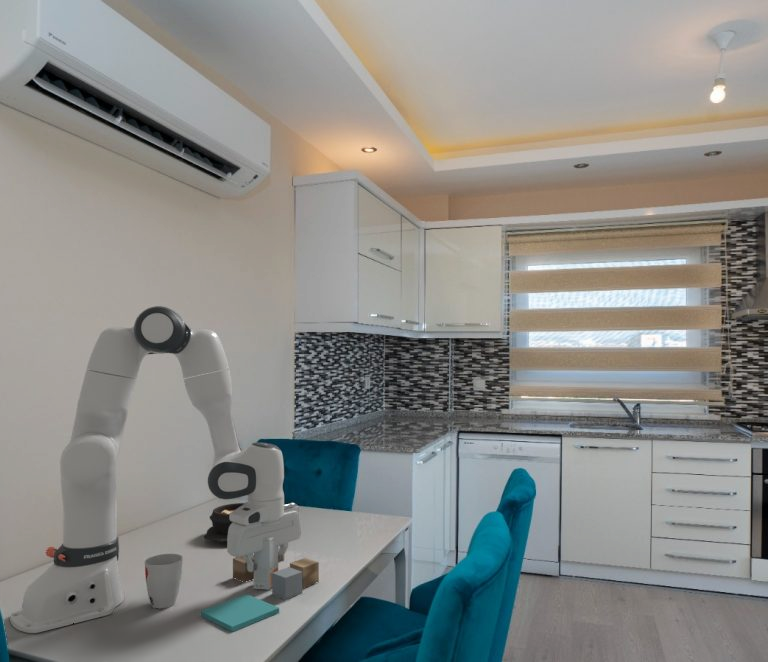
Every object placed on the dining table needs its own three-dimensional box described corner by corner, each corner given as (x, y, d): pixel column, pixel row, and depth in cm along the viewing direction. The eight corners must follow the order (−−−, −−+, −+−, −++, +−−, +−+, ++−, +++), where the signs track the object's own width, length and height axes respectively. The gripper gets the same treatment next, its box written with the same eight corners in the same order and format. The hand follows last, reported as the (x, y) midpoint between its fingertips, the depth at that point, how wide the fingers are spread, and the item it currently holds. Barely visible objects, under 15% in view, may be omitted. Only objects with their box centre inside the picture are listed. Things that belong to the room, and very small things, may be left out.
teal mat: (232, 631, 122) (232, 626, 122) (200, 615, 130) (200, 610, 130) (279, 612, 131) (279, 607, 131) (246, 598, 139) (246, 594, 139)
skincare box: (269, 590, 143) (269, 539, 144) (253, 589, 144) (253, 538, 144) (279, 581, 149) (279, 532, 150) (263, 580, 150) (263, 531, 150)
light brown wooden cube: (303, 588, 144) (303, 567, 144) (290, 583, 148) (289, 563, 148) (318, 582, 148) (318, 562, 148) (305, 577, 151) (305, 557, 152)
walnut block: (244, 583, 148) (244, 562, 149) (232, 578, 152) (232, 558, 152) (261, 577, 152) (260, 557, 152) (249, 573, 155) (249, 553, 156)
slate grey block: (285, 599, 138) (285, 577, 138) (272, 594, 141) (272, 572, 141) (302, 593, 141) (302, 571, 142) (288, 588, 145) (288, 567, 145)
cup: (153, 596, 140) (153, 553, 141) (187, 596, 140) (187, 553, 140) (138, 611, 132) (138, 565, 133) (174, 611, 132) (174, 565, 132)
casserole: (243, 550, 174) (243, 520, 174) (188, 545, 179) (188, 516, 180) (282, 526, 198) (282, 500, 198) (232, 522, 203) (232, 497, 204)
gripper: (290, 499, 157) (290, 552, 157) (223, 515, 142) (223, 574, 141) (306, 503, 153) (306, 557, 152) (239, 519, 138) (239, 580, 137)
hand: (266, 566), depth 147 cm, fingers closed on skincare box, 7 cm apart
